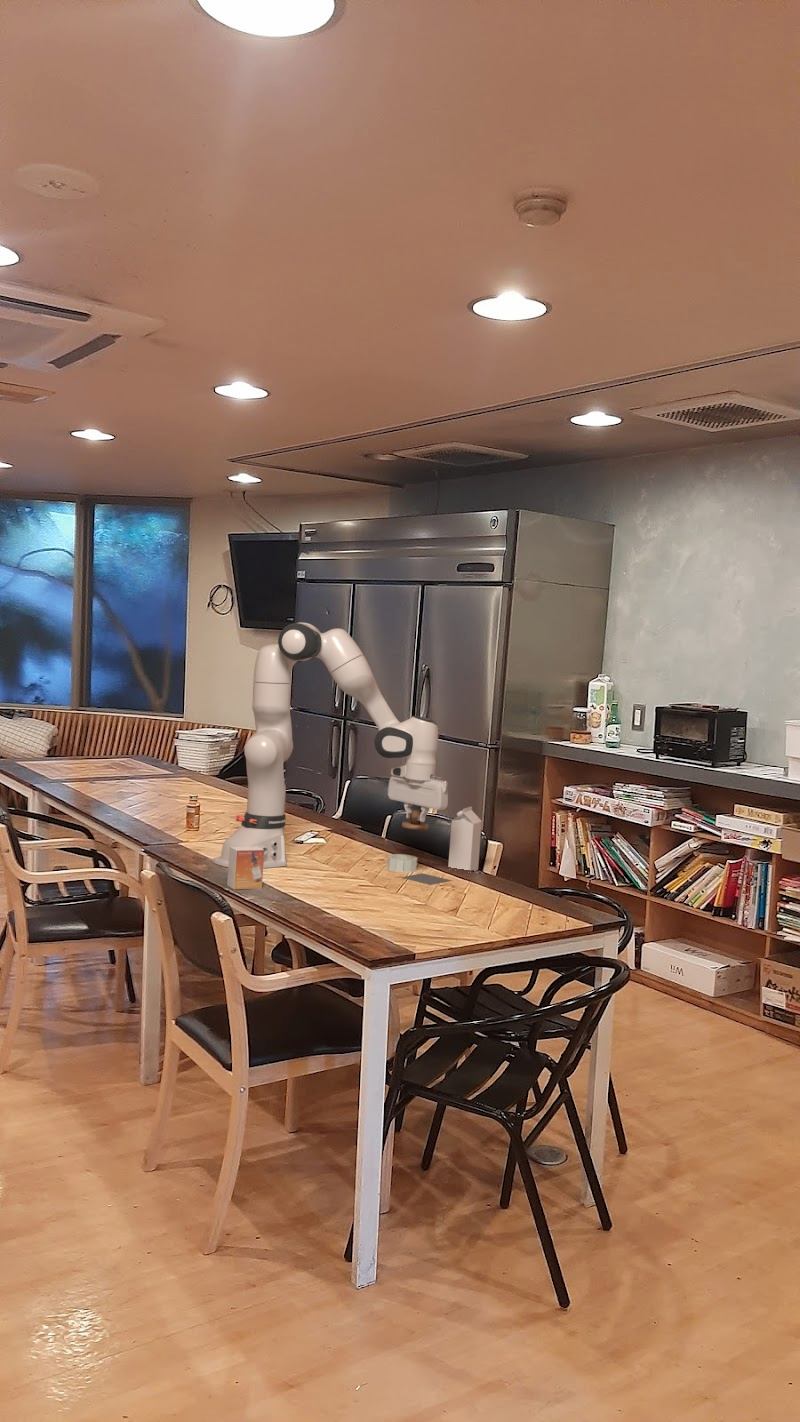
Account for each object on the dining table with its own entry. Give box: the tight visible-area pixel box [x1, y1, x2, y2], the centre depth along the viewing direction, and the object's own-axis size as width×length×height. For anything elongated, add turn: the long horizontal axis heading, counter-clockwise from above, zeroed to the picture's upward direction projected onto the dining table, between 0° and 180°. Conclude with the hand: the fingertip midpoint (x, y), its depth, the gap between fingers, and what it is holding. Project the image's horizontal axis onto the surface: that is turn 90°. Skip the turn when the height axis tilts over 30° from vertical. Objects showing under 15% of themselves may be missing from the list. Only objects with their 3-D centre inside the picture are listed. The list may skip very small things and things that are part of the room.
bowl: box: [386, 853, 418, 874], centre depth 323 cm, size 9×9×4 cm
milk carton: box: [447, 806, 483, 872], centre depth 329 cm, size 7×7×19 cm
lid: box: [401, 808, 429, 831], centre depth 316 cm, size 8×8×5 cm
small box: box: [226, 846, 264, 890], centre depth 288 cm, size 8×6×10 cm
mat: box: [400, 872, 453, 886], centre depth 312 cm, size 10×11×1 cm
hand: (415, 820), depth 316 cm, fingers closed on lid, 3 cm apart
